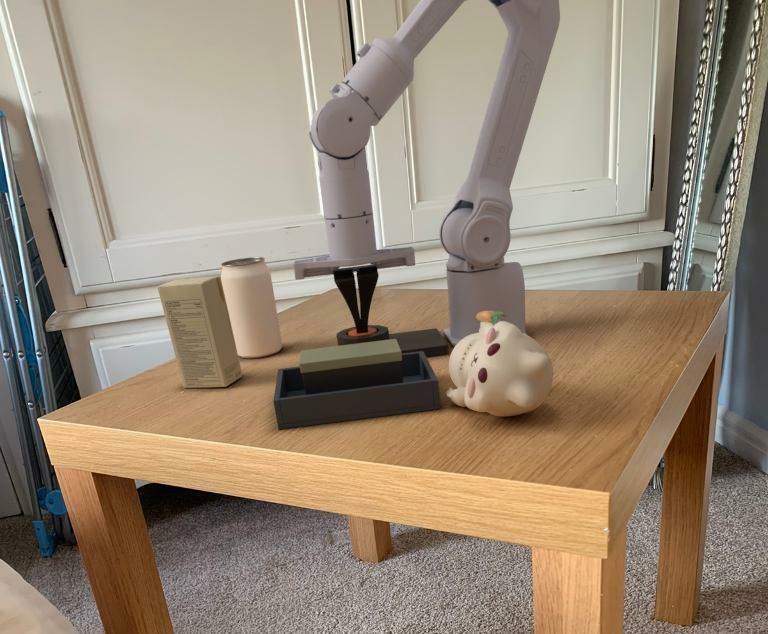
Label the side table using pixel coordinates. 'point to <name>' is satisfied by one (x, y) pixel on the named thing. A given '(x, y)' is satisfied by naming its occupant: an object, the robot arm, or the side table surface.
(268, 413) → the side table surface
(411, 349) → the control block
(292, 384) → the tray
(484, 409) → the cat figurine
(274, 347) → the can
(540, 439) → the side table surface
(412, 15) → the robot arm
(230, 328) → the cosmetic box
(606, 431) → the side table surface
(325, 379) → the green-topped black block
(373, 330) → the button
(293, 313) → the side table surface
